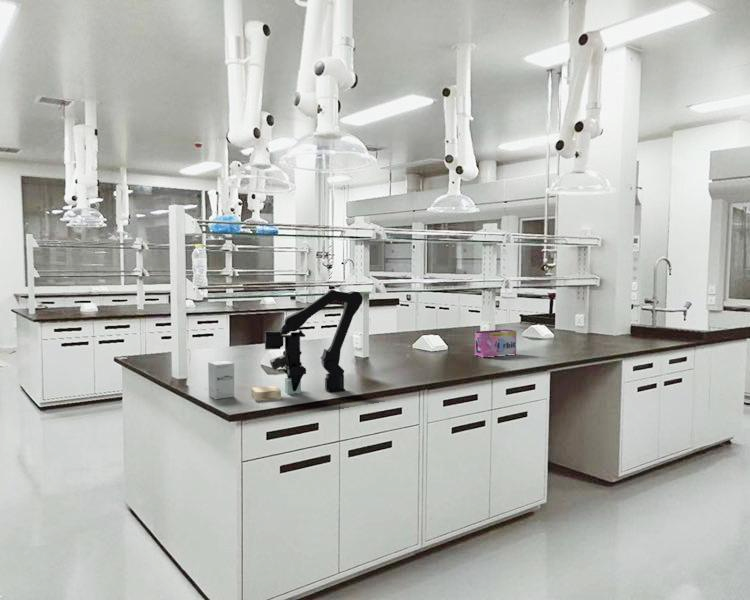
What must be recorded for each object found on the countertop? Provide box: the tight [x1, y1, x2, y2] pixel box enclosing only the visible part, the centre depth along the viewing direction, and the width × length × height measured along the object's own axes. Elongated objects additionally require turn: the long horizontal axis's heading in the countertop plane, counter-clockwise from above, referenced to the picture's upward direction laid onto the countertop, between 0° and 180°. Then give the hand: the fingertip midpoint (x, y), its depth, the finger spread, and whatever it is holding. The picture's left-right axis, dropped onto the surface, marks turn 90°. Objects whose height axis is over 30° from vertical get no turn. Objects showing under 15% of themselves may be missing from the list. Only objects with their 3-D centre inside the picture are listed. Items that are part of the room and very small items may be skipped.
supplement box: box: [207, 360, 235, 400], centre depth 202 cm, size 7×7×13 cm
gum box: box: [474, 329, 517, 357], centre depth 298 cm, size 24×8×14 cm, turn 117°
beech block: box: [250, 385, 282, 402], centre depth 201 cm, size 9×9×4 cm
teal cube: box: [284, 377, 302, 395], centre depth 209 cm, size 5×5×5 cm
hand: (292, 389), depth 210 cm, fingers closed on teal cube, 5 cm apart
